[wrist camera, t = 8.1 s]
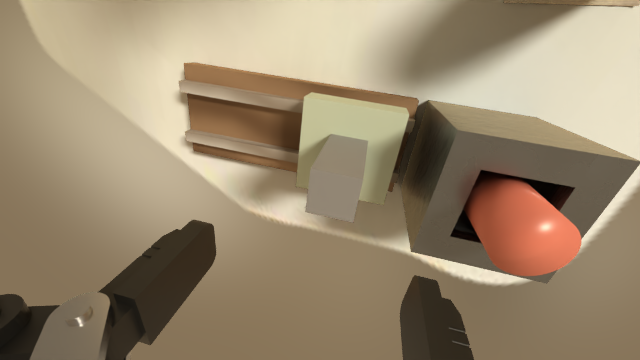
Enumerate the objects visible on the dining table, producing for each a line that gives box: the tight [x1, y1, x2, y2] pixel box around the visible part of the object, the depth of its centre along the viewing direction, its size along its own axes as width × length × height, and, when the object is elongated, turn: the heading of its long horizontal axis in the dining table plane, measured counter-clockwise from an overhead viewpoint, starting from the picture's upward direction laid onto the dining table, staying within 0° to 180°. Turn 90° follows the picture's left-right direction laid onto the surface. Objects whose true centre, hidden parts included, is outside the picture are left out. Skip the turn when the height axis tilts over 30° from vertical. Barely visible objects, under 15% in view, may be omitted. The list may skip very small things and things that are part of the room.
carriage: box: [296, 92, 409, 223], centre depth 19 cm, size 8×8×10 cm
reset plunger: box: [463, 170, 581, 276], centre depth 16 cm, size 4×4×6 cm
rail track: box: [179, 63, 419, 192], centre depth 25 cm, size 9×22×2 cm, turn 83°
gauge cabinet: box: [401, 100, 640, 283], centre depth 20 cm, size 9×9×10 cm
